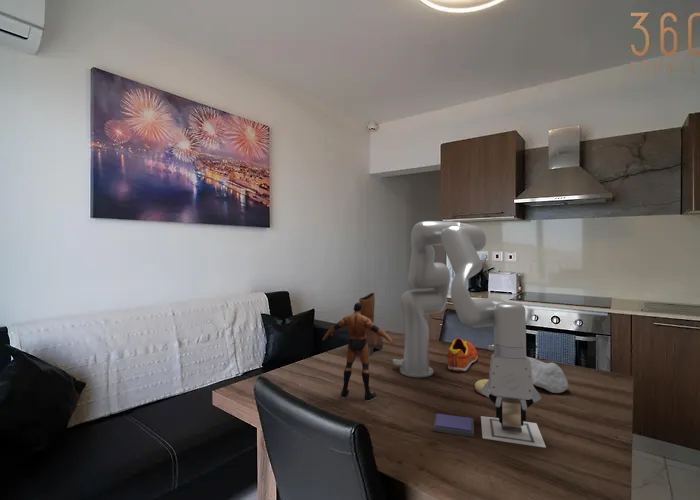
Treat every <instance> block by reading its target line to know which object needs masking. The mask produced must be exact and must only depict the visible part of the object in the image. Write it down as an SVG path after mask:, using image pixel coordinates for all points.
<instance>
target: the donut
mask: <svg viewBox="0 0 700 500" xmlns="http://www.w3.org/2000/svg"><path fill="white" fill-rule="evenodd" d="M488 380H489V378H488V379H484V378H483V379H479V380H477V381H476V382H475V384H474V389H475V391H476V392H477V393H478V394H480V395H483V396H485V395H484V394H483V393H482V391H481V389H482V388H483V387H484V385H485V384H486V383H487V381H488ZM488 391H490V389H489V390H488ZM485 397H486V396H485Z"/></svg>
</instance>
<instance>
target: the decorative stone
mask: <svg viewBox="0 0 700 500" xmlns="http://www.w3.org/2000/svg"><path fill="white" fill-rule="evenodd" d="M527 357H528V358H529V359H530V362H531V368H532V377H533V386H535V387H539V388H541V389H545V390H546V391H548V392H550V393H551V394H552V393H553V394H560V393H564V392H565V391H566V390H568V389H569V388H568V387H569V381H568V379H567V377H566V375H565V373H564V371H563V370H562V368H561V367H560V366H559V365H558V364H556V363H554V362H548V363H547V362H544V361H541V360H539V359H537V358H533V357H529V356H527Z"/></svg>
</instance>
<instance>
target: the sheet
mask: <svg viewBox="0 0 700 500" xmlns="http://www.w3.org/2000/svg"><path fill="white" fill-rule="evenodd" d="M480 421H481V422H480V423H481V425H480V426H481V434H482V435H481V436H482V439H485V440H492V441H499V442H504V443H509V444H510V443H512V444H517V445H525V446H531V447H539V448H544V449H546V448H547V446H546V444H545V441H544V439H543V436H542V434H541V431H540V429H539V427H538V423H536V422H529V421H523V426H521V428H522V432H515V431H507V430H502V426H501V423H500V422H499V418H496V417H491V416H482V415H480Z"/></svg>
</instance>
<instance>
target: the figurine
mask: <svg viewBox="0 0 700 500" xmlns="http://www.w3.org/2000/svg"><path fill="white" fill-rule="evenodd" d="M353 311H354V312H353V313H351V314H348V315H345V316H344V317H343V318H341V320H339V321H338V322H337V323H335V324H332V325H331V327H330V328H329V329H328V331H326V333H325V334H324V336H323V337H322V341H325V340H327V339H328V337H329V336H331V337H333V333H337V331H338V330H339V329H342V328H344V327H345V329H346V331H347V332H348V335H349V337H348V338H349V340H348V345H347V352H346V353H347V354H346V365H345V368H344V371H343V387H342V389H341V393H340V394H341V398H342V399H347V397H348V396H349V394H350V392H351V391H350V390H349V389H348V388H349V382H350V379H351V375H352V371H353V370H352V368H353V367H352V366H353V364H354V362H355V359H356V357H357V356H356V354H357V353H358V352H359V356H358V358H359V359H360V363H361V366H362V369H361V376H362V377H361V378H362V381H363V387H364V401H365V402H371V401H372V400H374V399H376V398H377V397H378V396H377V394H376V392H372V390H371V389H370V371H369V369H370V367H369V366H370V365H369V364H370V356H369V352H368V345H367V340H366V329H367V327H368V328H369V329H370V330H372V331H374V332H375V333H376V334H377V335H379V336H381V338H382V337H383V339H385V340H386V341H387V342H389V343H390V344H391V346H392V347H395V346H396V345H395V344H396V343H395V342H394V341H393V338H392V337H390V335H388V334H387V333H386V332H385V330H383V329H381V328H380V327H378V326H377V325H375V324H374V322H373V323H372V322H371V320H370V319H369V318H367V317H365V316H363V315H361V313H362V304H361V303H359V301H358V302H356V303H354V305H353Z"/></svg>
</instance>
